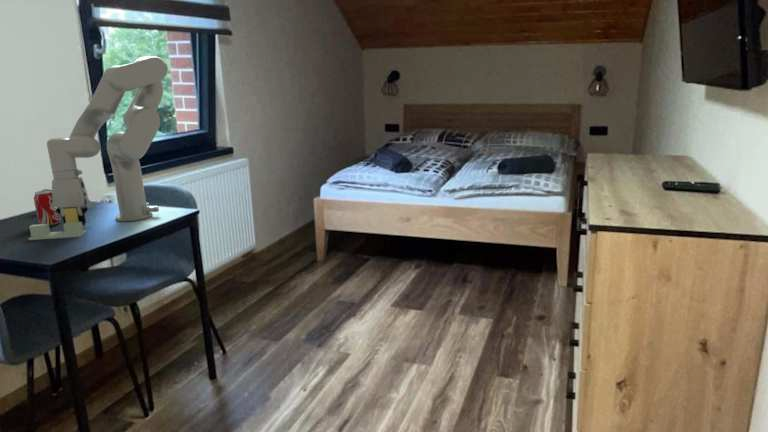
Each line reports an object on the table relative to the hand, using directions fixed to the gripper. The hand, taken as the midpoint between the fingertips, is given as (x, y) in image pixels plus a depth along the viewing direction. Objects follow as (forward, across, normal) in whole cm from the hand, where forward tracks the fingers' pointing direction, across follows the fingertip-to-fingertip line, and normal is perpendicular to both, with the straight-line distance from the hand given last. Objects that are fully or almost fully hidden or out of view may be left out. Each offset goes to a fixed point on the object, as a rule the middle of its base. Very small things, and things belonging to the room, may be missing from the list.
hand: (75, 225), depth 196 cm
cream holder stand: (+1, +3, +7) cm, 8 cm away
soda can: (+1, +13, -10) cm, 16 cm away
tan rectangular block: (+1, 0, 0) cm, 1 cm away
